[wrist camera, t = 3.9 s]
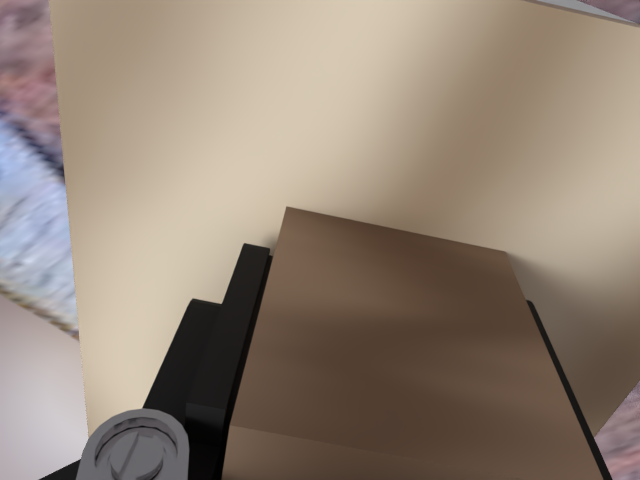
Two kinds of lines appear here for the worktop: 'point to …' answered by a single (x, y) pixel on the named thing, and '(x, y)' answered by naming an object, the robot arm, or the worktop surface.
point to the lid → (363, 222)
